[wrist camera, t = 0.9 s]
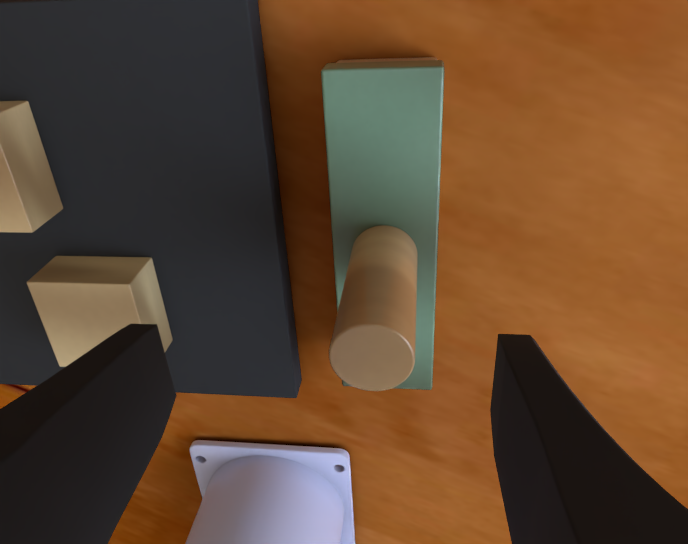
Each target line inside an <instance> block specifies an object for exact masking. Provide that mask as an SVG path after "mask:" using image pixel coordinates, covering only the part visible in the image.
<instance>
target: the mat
mask: <svg viewBox="0 0 688 544" xmlns="http://www.w3.org/2000/svg"><path fill="white" fill-rule="evenodd" d="M0 101H28V102H29V105H30V108H31V111H32V114H33V117H34V121H35V124H36V127H37V130H38V133H39V136H40V139H41V142H42V145H43V148H44V151H45V154H46V157H47V160H48V163H49V166H50V169H51V172H52V175H53V178H54V181H55V184H56V187H57V191H58V194H59V197H60V200H61V203H62V206H63V209H62V210H61V211H60V212H58V213H57V214H56V215H55V216H53V217H52V218H51V219H49V220H48V221H47V222H46V223H44V224H43V225H42V226H40V227H39V228H38V229H37V230H35V231H34V232H32V233H22V232H0V384H17V385H39V384H41V383H42V382H44V381H46V380H47V379H49V378H50V377H51V376H53V375H54V374H56V373H57V372H59V371H60V370H62V369H63V368H65V367H60V366H59V364H58V361H57V359H56V356H55V354H54V351H53V349H52V346H51V343H50V341H49V338H48V336H47V333H46V331H45V328H44V326H43V323H42V321H41V318H40V315H39V313H38V310H37V308H36V305H35V303H34V300H33V298H32V295H31V293H30V290H29V287H28V285H27V281H28V280H29V279H31V278H32V277H33V276H34V275H35V274H36V273H37V272H38V271H40V270H41V269H42V268H43V267H44V266H45V265H46V264H47V263H49V262H50V261H51V260H52V259H53V258H54V257H55V256H101V257H151V258H152V260H153V264H154V268H155V272H156V276H157V280H158V284H159V288H160V291H161V295H162V299H163V303H164V307H165V311H166V315H167V319H168V323H169V327H170V331H171V335H172V339H173V340H172V342H171V344H170V345H169V347H168V348H167V350H166V352H165V356H166V359H167V363H168V367H169V370H170V374H171V378H172V381H173V385H174V389H175V392H182V393H202V394H223V395H243V396H264V397H284V398H296V397H297V395H298V391H299V387H300V384H301V371H300V363H299V354H298V345H297V337H296V328H295V320H294V311H293V302H292V294H291V285H290V276H289V268H288V259H287V250H286V242H285V233H284V224H283V216H282V207H281V198H280V190H279V181H278V172H277V164H276V155H275V146H274V138H273V129H272V120H271V112H270V103H269V95H268V86H267V77H266V69H265V60H264V51H263V43H262V34H261V25H260V17H259V8H258V0H0Z"/></svg>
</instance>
